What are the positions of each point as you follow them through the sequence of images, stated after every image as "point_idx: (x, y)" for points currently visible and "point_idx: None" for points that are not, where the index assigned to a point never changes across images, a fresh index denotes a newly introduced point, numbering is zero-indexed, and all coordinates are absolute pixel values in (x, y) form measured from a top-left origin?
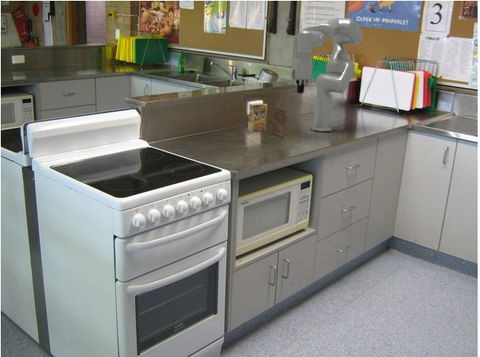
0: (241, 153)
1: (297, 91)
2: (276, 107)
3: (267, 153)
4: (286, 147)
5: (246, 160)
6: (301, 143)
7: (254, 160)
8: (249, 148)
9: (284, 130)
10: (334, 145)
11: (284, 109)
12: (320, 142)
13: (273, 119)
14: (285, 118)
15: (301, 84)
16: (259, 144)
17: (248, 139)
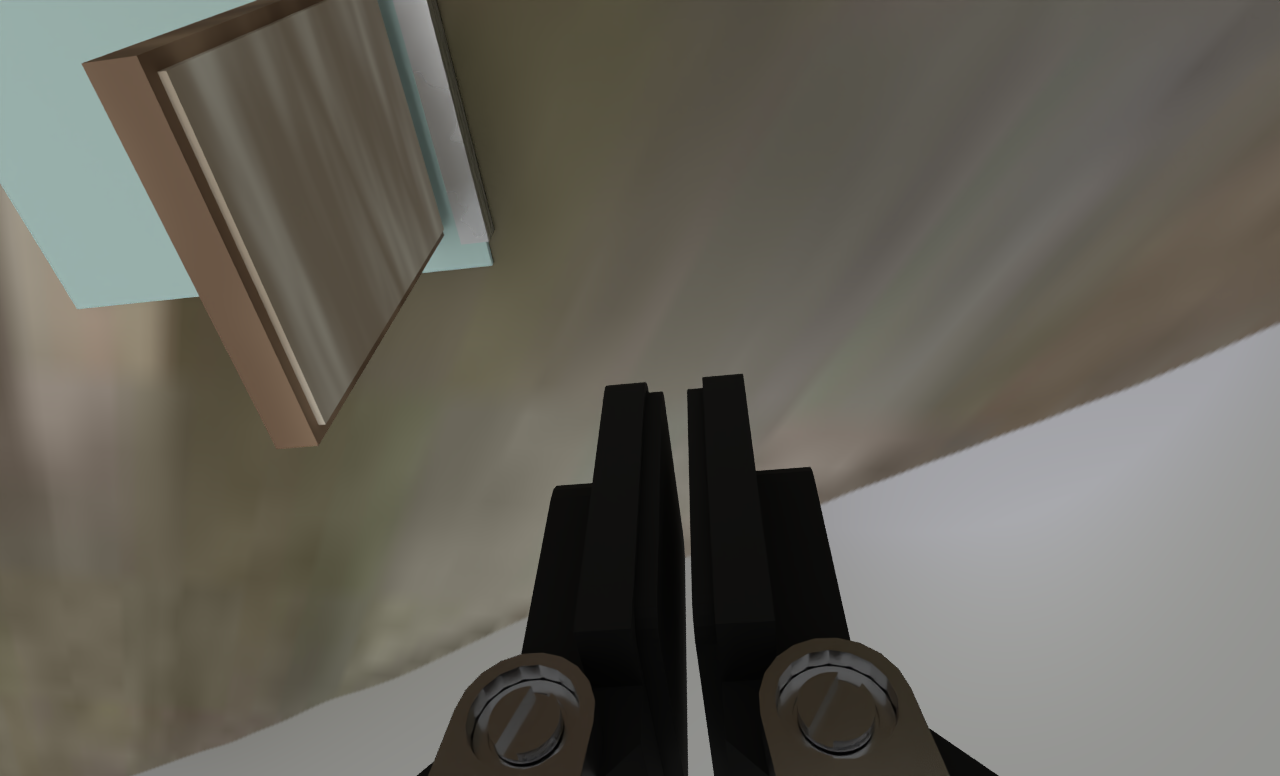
0: (14, 596)
1: (607, 412)
2: (132, 161)
3: (207, 610)
4: (395, 493)
5: (65, 704)
6: (599, 382)
7: (115, 708)
8: (62, 496)
9: (419, 273)
10: (906, 468)
11: (290, 389)
12: (839, 359)
13: (236, 9)
14: (365, 361)
15: (730, 756)
16: (149, 390)
17: (16, 201)
